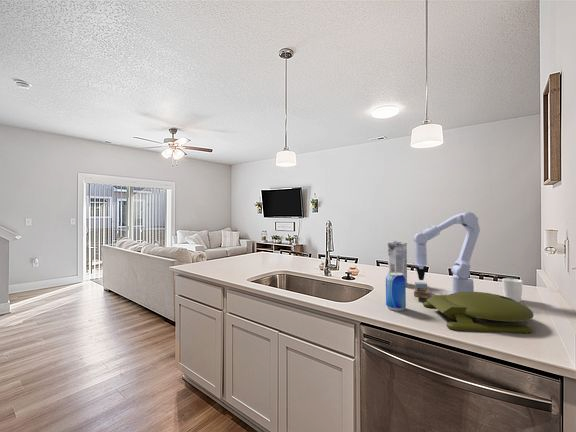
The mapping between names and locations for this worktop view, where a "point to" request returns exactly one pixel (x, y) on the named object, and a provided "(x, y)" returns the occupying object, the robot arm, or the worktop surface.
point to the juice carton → (397, 258)
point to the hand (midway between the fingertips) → (421, 279)
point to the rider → (421, 285)
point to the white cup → (512, 288)
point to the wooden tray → (421, 293)
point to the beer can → (395, 291)
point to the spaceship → (481, 311)
